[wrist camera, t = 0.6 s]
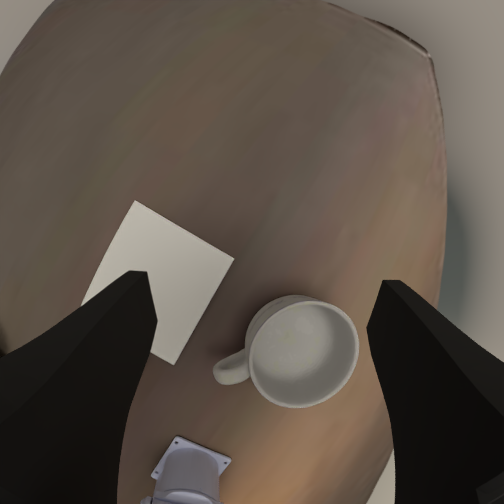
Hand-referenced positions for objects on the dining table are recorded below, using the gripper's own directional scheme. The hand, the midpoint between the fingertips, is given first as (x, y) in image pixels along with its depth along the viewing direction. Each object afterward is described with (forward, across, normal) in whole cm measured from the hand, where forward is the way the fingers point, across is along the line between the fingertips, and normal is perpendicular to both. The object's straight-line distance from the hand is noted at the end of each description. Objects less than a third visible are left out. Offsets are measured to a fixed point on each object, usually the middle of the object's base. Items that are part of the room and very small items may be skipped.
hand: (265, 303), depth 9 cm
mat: (+18, +12, +13) cm, 25 cm away
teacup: (+17, -2, +19) cm, 26 cm away
